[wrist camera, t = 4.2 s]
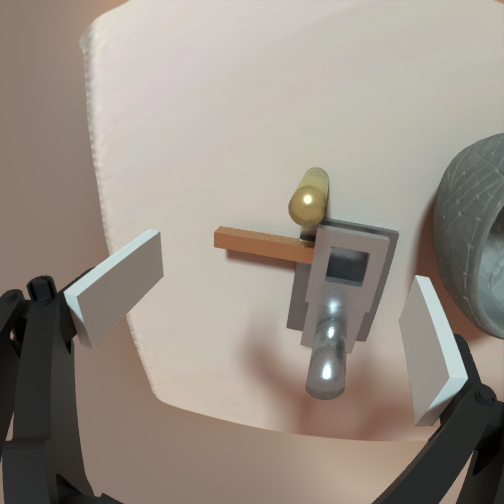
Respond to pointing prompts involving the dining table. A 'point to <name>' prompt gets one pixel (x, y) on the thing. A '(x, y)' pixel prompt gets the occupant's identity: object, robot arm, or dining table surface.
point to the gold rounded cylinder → (310, 198)
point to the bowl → (473, 233)
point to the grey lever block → (327, 288)
